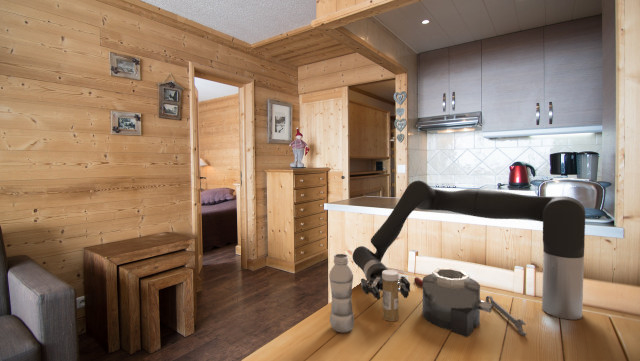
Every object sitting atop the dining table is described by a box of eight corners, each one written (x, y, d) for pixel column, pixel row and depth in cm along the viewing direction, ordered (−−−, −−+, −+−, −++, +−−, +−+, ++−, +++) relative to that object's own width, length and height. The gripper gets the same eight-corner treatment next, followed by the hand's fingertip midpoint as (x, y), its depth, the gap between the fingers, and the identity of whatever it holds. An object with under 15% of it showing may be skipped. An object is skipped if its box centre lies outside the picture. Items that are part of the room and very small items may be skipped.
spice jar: (401, 320, 89) (401, 273, 88) (386, 322, 88) (386, 275, 87) (394, 313, 94) (393, 268, 93) (379, 315, 93) (379, 269, 92)
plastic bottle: (338, 338, 81) (336, 261, 80) (325, 326, 87) (324, 254, 86) (359, 331, 84) (358, 257, 83) (345, 320, 90) (344, 251, 89)
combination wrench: (485, 292, 99) (522, 324, 79) (489, 292, 99) (528, 324, 79) (485, 304, 99) (522, 339, 79) (489, 304, 99) (528, 339, 79)
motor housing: (436, 300, 101) (436, 261, 101) (499, 319, 89) (499, 275, 88) (412, 317, 91) (412, 274, 90) (479, 342, 78) (480, 292, 77)
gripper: (355, 264, 104) (367, 283, 88) (398, 262, 105) (417, 280, 89) (355, 286, 104) (367, 310, 88) (398, 284, 106) (417, 307, 89)
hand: (392, 295), depth 88 cm, fingers open, 7 cm apart
